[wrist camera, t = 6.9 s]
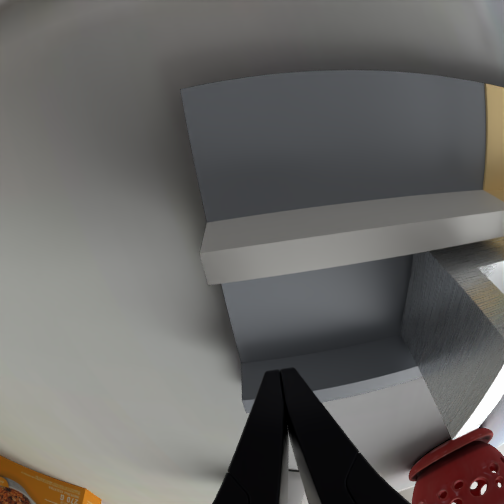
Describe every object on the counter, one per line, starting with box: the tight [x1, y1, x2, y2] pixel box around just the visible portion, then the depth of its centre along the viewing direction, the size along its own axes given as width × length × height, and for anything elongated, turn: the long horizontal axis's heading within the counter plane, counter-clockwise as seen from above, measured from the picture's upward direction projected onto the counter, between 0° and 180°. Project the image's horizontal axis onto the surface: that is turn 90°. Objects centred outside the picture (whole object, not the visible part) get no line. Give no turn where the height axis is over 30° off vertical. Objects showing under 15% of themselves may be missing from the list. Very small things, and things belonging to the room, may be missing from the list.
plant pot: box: [409, 428, 504, 504], centre depth 20 cm, size 13×13×12 cm
